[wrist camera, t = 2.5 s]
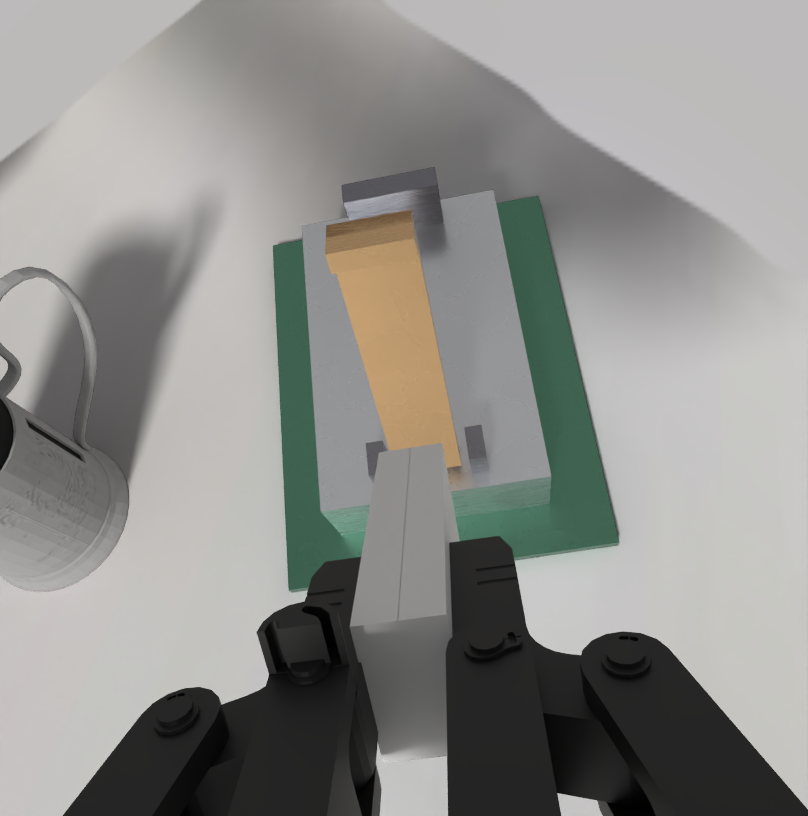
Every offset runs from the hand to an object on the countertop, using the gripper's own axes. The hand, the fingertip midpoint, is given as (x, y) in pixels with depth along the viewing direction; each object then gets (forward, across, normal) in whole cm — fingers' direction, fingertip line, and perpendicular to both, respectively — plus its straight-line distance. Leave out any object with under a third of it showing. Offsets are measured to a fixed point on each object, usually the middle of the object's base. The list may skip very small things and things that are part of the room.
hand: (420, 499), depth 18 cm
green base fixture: (+26, -1, -6) cm, 26 cm away
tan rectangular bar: (+14, -1, 0) cm, 14 cm away
